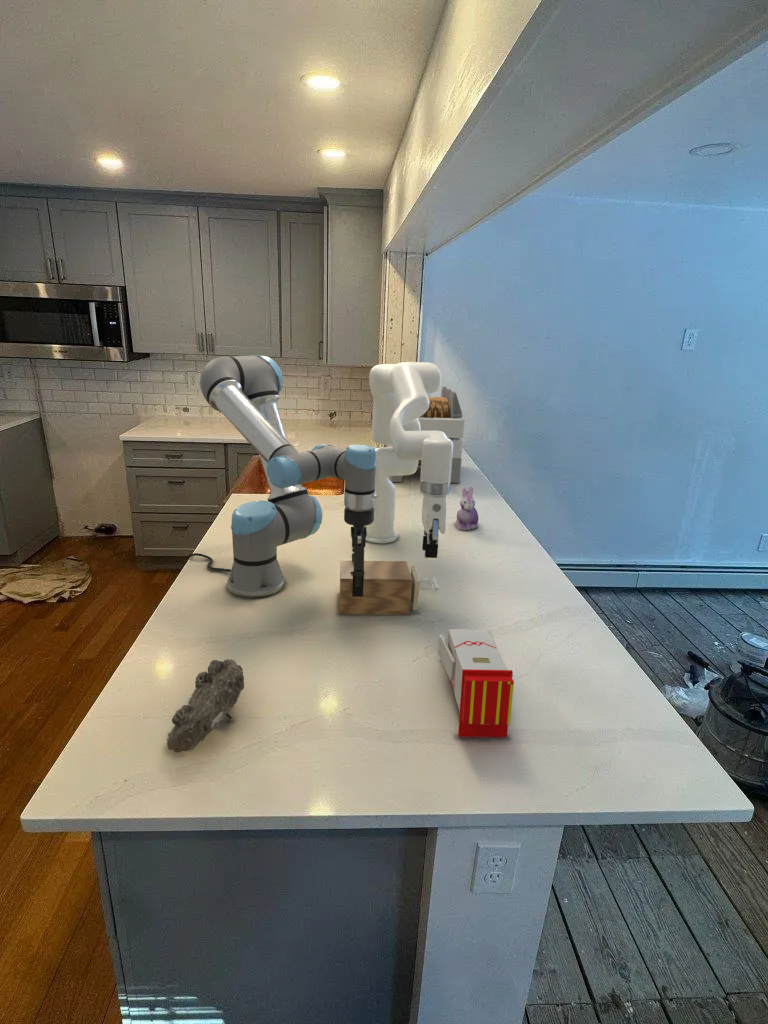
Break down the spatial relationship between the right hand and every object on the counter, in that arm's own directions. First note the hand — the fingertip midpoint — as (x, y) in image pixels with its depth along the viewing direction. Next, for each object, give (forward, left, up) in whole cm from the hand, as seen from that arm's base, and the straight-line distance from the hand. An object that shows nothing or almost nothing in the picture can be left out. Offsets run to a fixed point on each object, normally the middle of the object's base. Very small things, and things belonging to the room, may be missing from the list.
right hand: (429, 553), depth 148 cm
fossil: (-29, -58, -15) cm, 66 cm away
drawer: (-8, -3, -14) cm, 16 cm away
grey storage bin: (-32, +126, -15) cm, 131 cm away
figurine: (+1, +63, -15) cm, 65 cm away
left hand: (-17, -7, -10) cm, 21 cm away
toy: (+17, -33, -15) cm, 40 cm away
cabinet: (-13, -5, -15) cm, 21 cm away
